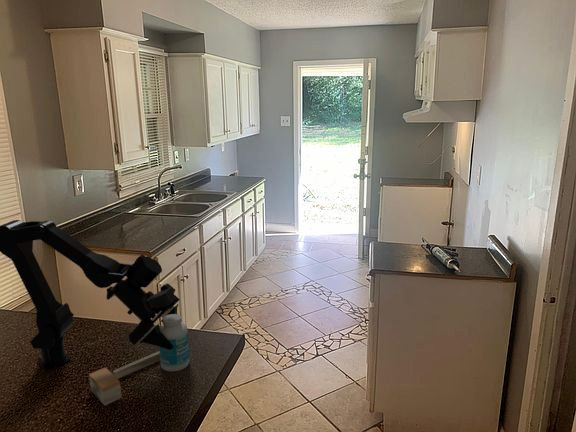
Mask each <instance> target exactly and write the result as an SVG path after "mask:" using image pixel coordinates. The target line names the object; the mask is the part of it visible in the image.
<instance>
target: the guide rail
mask: <svg viewBox="0 0 576 432" xmlns="http://www.w3.org/2000/svg"><path fill="white" fill-rule="evenodd" d="M159 361H160V350H159V351H156V352H154V353H152V354H149V355H147V356H145V357H141V358H139V359H137V360H134V361H132V362H131V363H128V364H126V365H123V366H121V367H119V368H116V369H114V370H112V374H113V375H114V376H115V377H116V378H117V379H118V380H119V379H120V378H123V377H125V376H128V375H130V374H132V373H134V372H137V371H139V370H141V369H144V368H146V367H148V366H150V365H153V364H155V363H157V362H159ZM160 362H161V361H160Z"/></svg>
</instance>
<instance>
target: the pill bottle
mask: <svg viewBox="0 0 576 432" xmlns="http://www.w3.org/2000/svg"><path fill="white" fill-rule="evenodd" d="M162 319H163V322H162V324H161V325H160V326H159V328H160V332H161V333H162V334H163V335H164V336H165V337H166V338H167V339H168V340H169V342H170V343H171V344H172V345H173V349H172V350H169V349H165V348H162V347H159V346H158V348H159V351H160V367H161V368H162V369H163V371H167V372H179V371H182V370H184V369H185V368H187V367H188V365H189V364H190V346H189V345H190V344H189V329H188V326H187V324H186V323H184V322H183V321H182V316H181V315H180V314H178V313H177V314H170V315H167V316H165V317H163V318H162Z"/></svg>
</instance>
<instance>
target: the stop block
mask: <svg viewBox="0 0 576 432" xmlns="http://www.w3.org/2000/svg"><path fill="white" fill-rule="evenodd" d="M88 377H89V384H90V385H89V386H90V391H91V393H93V394H94V395H95V397H96V398H97V399H98V400H99V401H100V403H102V405H104V406H107V405H109V404H111V403H113V402H116V401H118V400H120V399H122V398H123V396H122V390H121V388H122V387H121V380H119V379H117V378H116V377H115V376H114V375H113V372H111V371H110V370H109V369H108V368H107V367H106V366H105V367H103V368H99V369H98V370H95V371H93V372H90V373H88Z"/></svg>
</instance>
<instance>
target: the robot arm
mask: <svg viewBox="0 0 576 432" xmlns="http://www.w3.org/2000/svg"><path fill="white" fill-rule="evenodd" d="M38 240H39V241H42V242H43V243H45V244H46V245H48V246H49V247H51V249H54V251H56V252H57V253H59V254H60V255H62V256H63V257H65V258H66V259H67V260H69V261H71V262H72V263H74V264H75V265H77V266H78V267H79V268H80V269H81V270H82V272H83V274H84V276H85V277H86V279H88V280H89V281H90V283H92V284H93V285H94V286H95V287H97V288H100V289H106V288H107V289H106V300H110V299H112V298H113V297H116V298H117V299H118V300H119V301H120V302H121V303H122V304H123V305H124V306H125V307H126V308H127V309H128V310H127V312H126V313H127V315H130V316H131V315H132V314H133V315H135V317H137V318H138V319H139V320H140V321H139V323H138V325H137V326H136V327H135V328H134V329H132V331H131V332H130V333H129V334H128V335H127V340H128V341H129V342H130V343H131V344H132V345H133V346H136V344H137V343H139V344H142V343H143V344H147V345H151V346H156V347H158V348H159V347H162V348H165V349H169V350H172V349H173V345H172V344H171V343H170V342H169V340H168V339H167V338H166V337H165V336H164V335H163V334H162V333H161V332H160V323H157V325H155V323H156V322H157V321H158V320H159V319H160V318H162V319H161V320H160V322H161V323H163V317H165V316H167V315H170V314H178V307H179V304H178V303H179V301H180V298H179V297H178V296H177V295H176V294H175V292H176V289H175V288H174V287H173V285H171V284H169V283H168V282H166V283H165V284H163V285H162V286H160V291H158V292H157V293H154V292H153V291H150V290H149V291H148V292H146V291H145V290H144V289H143V288H147V287H149V285H150V284H151V283H153V282H154V280H155V279H156V278H157V277H158V276H159V275H161V273H162V272H163V268H162V266H161V264H160V262H159V261H157V260H156V259H153V258H151V257H150V256H145V255H144V254H143V253H141V254H140V255H139V256H138V257H137V258H136V260H134V262H133V263H132V264H131V263H123V262H119V261H117V260H115V259H114V258H112V257H109V256H107V255H105V254H100V253H97V252H95V251H94V250H93V251H92V250H91V249H90V248H88V247H87V246H85V244H83V243H81V242H80V241H78V240H77V239H75V237H73V236H71V235H70V234H69V233H67V232H65V231H64V230H63V229H61V228H60V227H58V226H57V225H56V223H54V222H53V221H51V220H44V221H37V220H35V221H34V220H33V221H23V220H20V219H15V220H11V221H8V222H5V223H4V224H2V225H1V224H0V253H1V254H3V256H5V257H7V258H8V259H9V260H11V261H12V264H13V266H14V267H15V270H16V272H17V274H18V277H20V279H21V281H22V284H23V286H24V287H25V290H26V291H27V294H28V296H29V297H30V300H31V302H32V304H33V305H34V308H35V310H36V313H35V315H36V317H35V324H36V327H37V330H38V333H37V334H36V335H35V336H34V337H33V338H32V339H31V340H30V342H29V343H30V344H31V346H32V348H33V349H35V350H37V349H38V350H39V352H40V358H38V359H37V362H38V363H39V365H40V366H41V368H43V370H44V371H47V370H50V369H53V368H56V367H58V366H61V365H62V364H63V365H64V364H66V363H68V362H70V361H72V358H71V357H70V356H69V355H68V354H67V353H66V347H65V341H64V337H63V336H65V335H66V334H68V331H69V329H70V328H71V327H72V325H73V323H74V318H73V317H74V315H75V314H74V313H73V312H72V311H71V309H70V305H69V304H68V302H65V303H63V304H62V303H61V302H59V301H57V299H56V297H55V296H54V293H53V291H52V289H51V288H50V285H49V282H48V280H47V279H46V277H45V274H44V273H43V270H42V268H41V266H40V264H39V262H38V261H37V258H36V256H35V254H34V252H33V248H34V247H33V246H34V245H33V244H34V241H38ZM125 277H126V278H125ZM124 278H125V279H124ZM113 284H114V285H113ZM112 285H113V286H112Z"/></svg>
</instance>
